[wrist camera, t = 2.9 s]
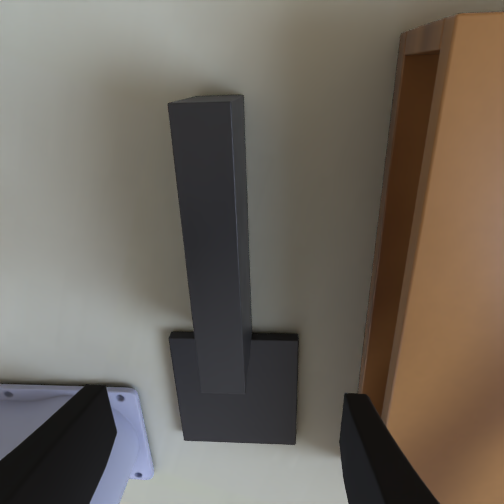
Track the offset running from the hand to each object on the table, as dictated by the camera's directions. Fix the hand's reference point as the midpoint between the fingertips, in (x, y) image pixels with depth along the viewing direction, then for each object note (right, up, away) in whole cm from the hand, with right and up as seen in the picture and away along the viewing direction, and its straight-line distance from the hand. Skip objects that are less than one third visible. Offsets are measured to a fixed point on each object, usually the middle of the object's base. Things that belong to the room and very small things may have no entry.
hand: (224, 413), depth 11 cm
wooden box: (+11, +2, +8) cm, 13 cm away
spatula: (0, +1, +9) cm, 9 cm away
